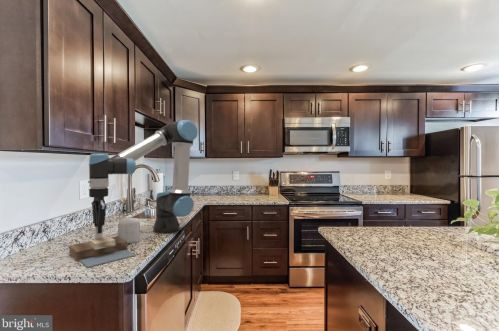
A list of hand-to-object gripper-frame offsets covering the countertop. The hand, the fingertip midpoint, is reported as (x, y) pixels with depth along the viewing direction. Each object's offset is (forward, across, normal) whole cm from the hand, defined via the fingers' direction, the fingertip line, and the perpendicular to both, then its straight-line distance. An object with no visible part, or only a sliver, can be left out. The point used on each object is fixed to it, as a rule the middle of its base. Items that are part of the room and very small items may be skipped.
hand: (98, 240), depth 118 cm
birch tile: (+1, +5, 0) cm, 5 cm away
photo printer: (+6, -5, +15) cm, 17 cm away
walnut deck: (+6, 0, 0) cm, 6 cm away
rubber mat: (+6, +12, 0) cm, 13 cm away
